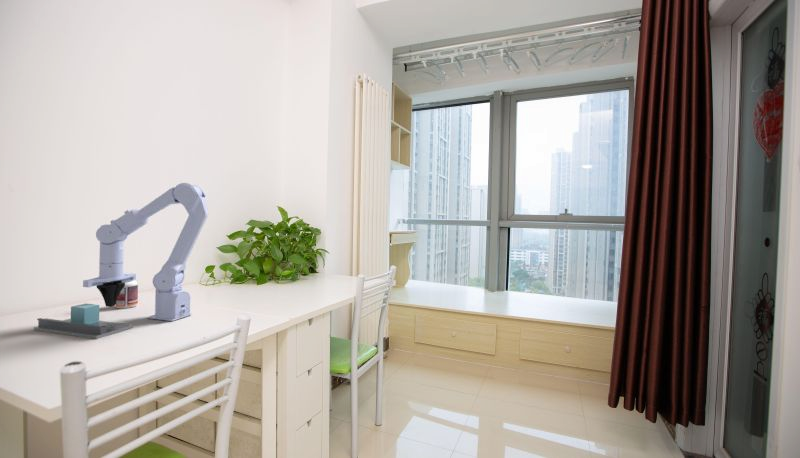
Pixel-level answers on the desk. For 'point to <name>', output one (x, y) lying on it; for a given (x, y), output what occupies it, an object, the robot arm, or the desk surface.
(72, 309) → the block
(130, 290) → the pill bottle
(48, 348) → the desk surface
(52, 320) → the rail board
